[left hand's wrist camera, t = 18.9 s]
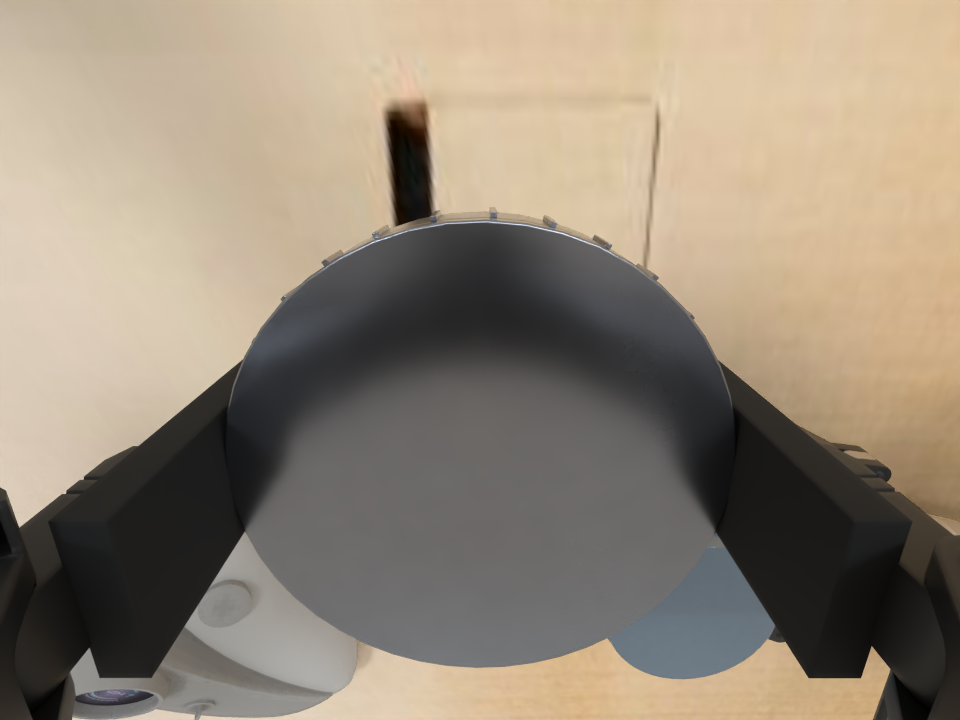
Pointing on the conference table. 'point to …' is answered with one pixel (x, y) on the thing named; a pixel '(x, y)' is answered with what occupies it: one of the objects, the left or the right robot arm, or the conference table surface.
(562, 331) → the lid
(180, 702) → the projector
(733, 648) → the jar
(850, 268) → the conference table surface
